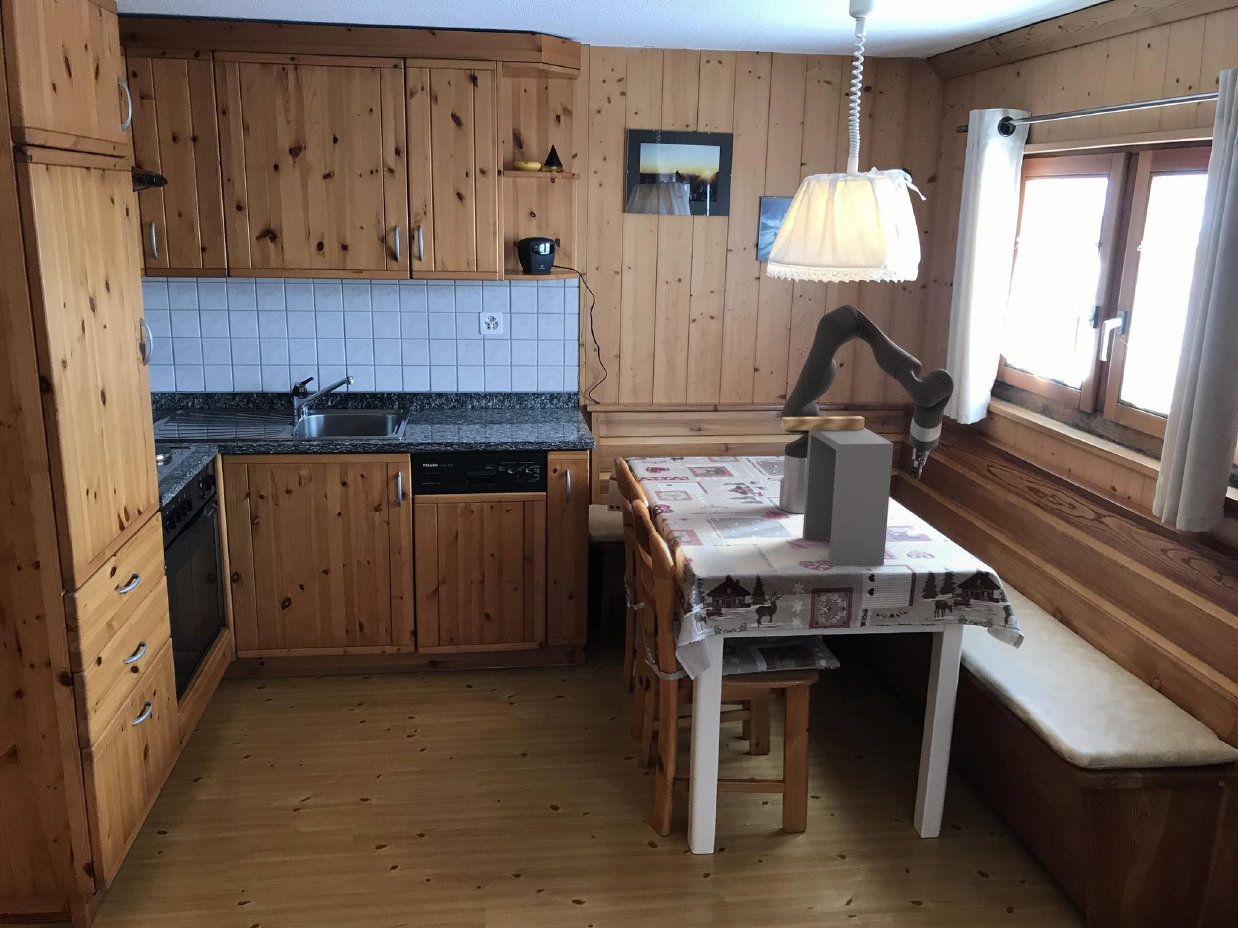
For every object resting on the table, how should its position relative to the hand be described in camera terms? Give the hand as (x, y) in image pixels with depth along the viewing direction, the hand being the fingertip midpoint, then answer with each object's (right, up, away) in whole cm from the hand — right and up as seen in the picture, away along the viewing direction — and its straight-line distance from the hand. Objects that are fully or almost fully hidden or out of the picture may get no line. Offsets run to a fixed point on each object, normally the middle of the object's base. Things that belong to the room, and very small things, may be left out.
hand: (919, 466), depth 274 cm
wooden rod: (-28, +10, -5) cm, 30 cm away
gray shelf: (-22, -23, -4) cm, 32 cm away
